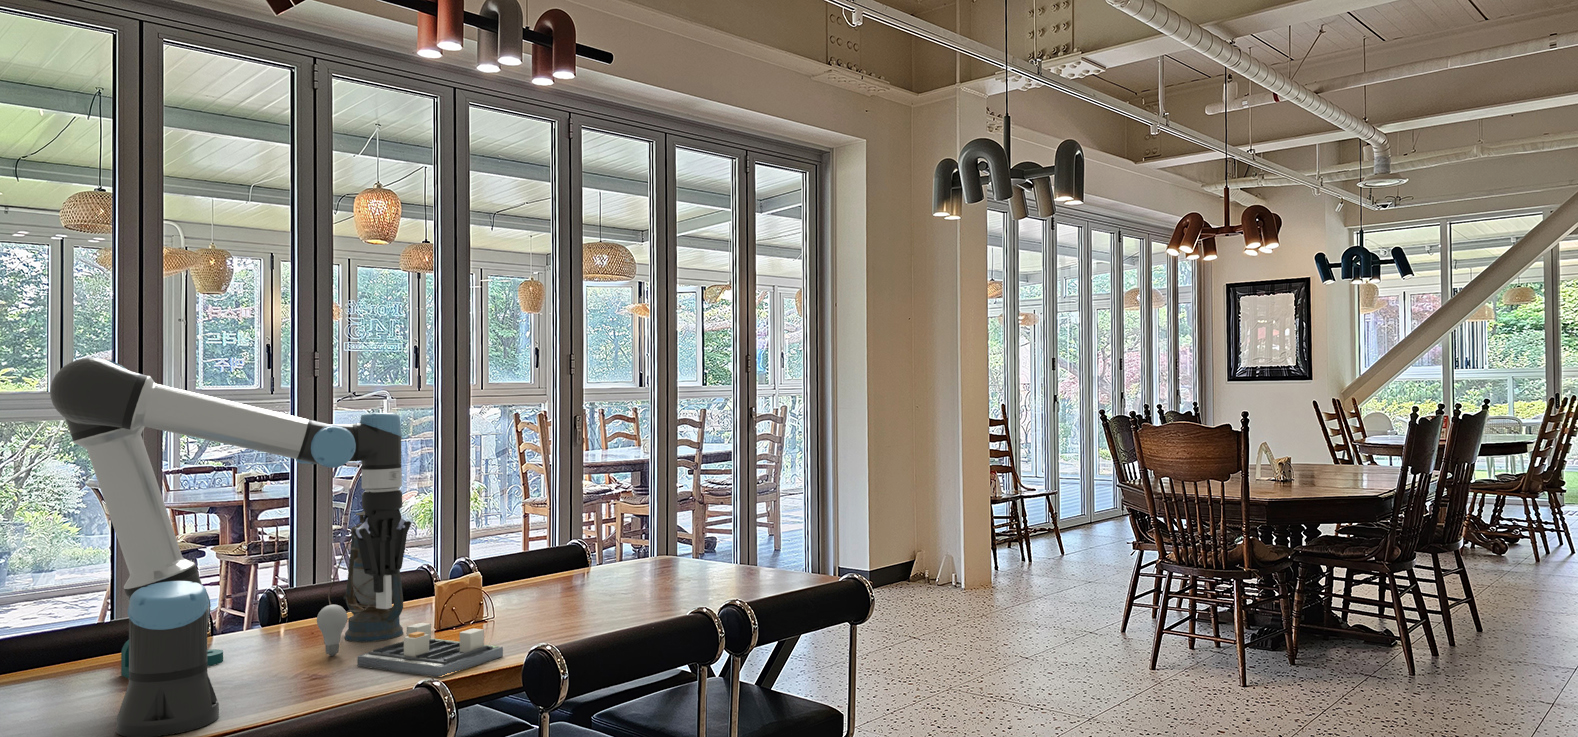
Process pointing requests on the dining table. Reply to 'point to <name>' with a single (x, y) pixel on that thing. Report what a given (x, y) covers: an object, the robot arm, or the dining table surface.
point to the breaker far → (420, 629)
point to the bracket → (212, 658)
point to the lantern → (368, 601)
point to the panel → (429, 658)
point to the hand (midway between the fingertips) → (383, 607)
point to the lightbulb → (332, 626)
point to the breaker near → (471, 639)
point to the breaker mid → (416, 644)
